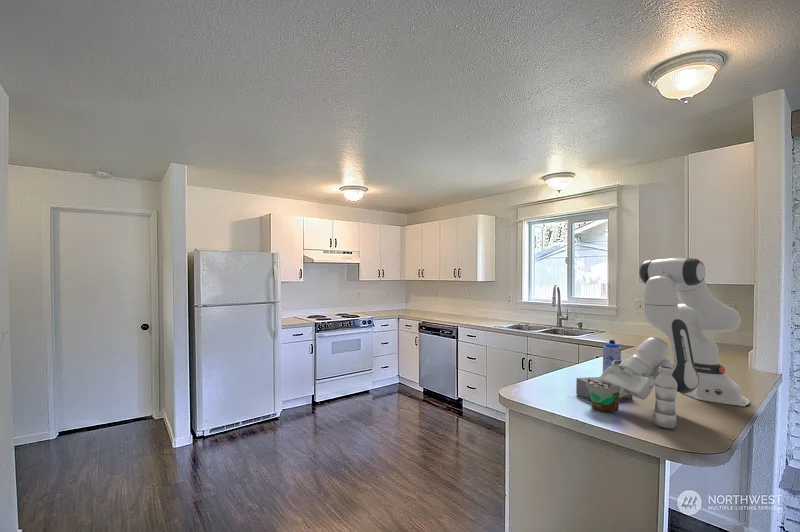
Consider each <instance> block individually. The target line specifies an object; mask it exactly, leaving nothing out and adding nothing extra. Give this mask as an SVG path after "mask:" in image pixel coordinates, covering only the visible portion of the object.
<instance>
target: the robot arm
mask: <svg viewBox="0 0 800 532" xmlns="http://www.w3.org/2000/svg"><path fill="white" fill-rule="evenodd" d="M638 273H639V278H640V280H641V281H642V283H643V284H645V287H644V294H643V314H644V318H645V320H646V321H647V322H648V323H649V324H650V325H652V326H653V327H654V328H655V329H658V330H659V331H661V332H662V333H663V334H665V335H666V337H667V338H668V339H669V341H670V343H671V346H670V344H668V343H667V342H666V341H665V340H662V339H660V338H657V337H650V336H649V337H648V338H646V339H645V340H643V341H642V342H641V343H640V344H639V346H637V347H636V348H635V351H634V352H633V354H632V355H630V356H629V357H628V358H627V359H621V360H615V361H613V362H612V365H613V366H610V367H608V368H607V369H606V370H605V371H604V372H603V371H602V374H601V375H600V376H599V377H600V380H601V381H602V382H603V383H606V384H609V385H611V386H615V387H616V386H618V385H619V387H620V388H621V391H620V392H619V398H621V397H623V396H625V395H626V394H629V395H632V397H635V398H637V399H640V400H643V401H644V400H646V399H647V398H648V397H649V395H650V394H651V393H652V390H653V389H654V380H655V378H656V377H657V376H658V375H659V374H660V372H659V366H667V367H671V368H672V372H673V374H672V376H673V377H674V379H675V380H676V382H677V384H678V387H677V392H676V393H680V394H684V395H686V396H688V397H692V398H694V399H696V400H699V401H704V402H712V403H718V404H725V405H731V406H732V405H733V406H737V405H738V406H737V407H747V406H746V405H748V404H749V405H750V400H749V398H747V397H745V396H744V395H743V392H742V388H741V386H740V385H739V384H738V383H737V382H736V381H734V380H733V379H731V378H730V377H729V376H728V375H726V374H725V372H726V368H725V366H724V365H722V364H720V363H719V346H718V345H717V343H716V342H714V341H713V340H712V339H709V338H708V337H707V336H706V335H705V333H704V331H707V332H709V331H710V332H715V333H716V332H717V333H726V332H727V333H729V332H735V331H736V330H738V329H739V327H740V325H741V323H742V319H741V315H740V313H739V312H738V310H736V308H733V307H730V306H729V305H727V304H725V303H723V302H722V301H720V300H719V299H717V297H715V296H714V294H712V292H711V291H710V289H709V287H708V286H707V283H706V280H705V277H706V267H705V265H704V263H703V262H702V261H701V260H699V259H697V258H693V257H692V258H691V257H687V258H685V257H684V258H683V257H682V258H681V257H669V258H659V259H654V258H653V259H648V260H645V261H644V262H643V263H642V264H641V265H640V267H639V272H638ZM679 302H680V303H679ZM670 349H672V356H673V361H674V362H673V361H671V359H670V356H669V351H670ZM749 405H748V406H749Z"/></svg>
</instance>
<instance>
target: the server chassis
mask: <svg viewBox="0 0 800 532" xmlns="http://www.w3.org/2000/svg"><path fill="white" fill-rule="evenodd" d="M588 378H590V380H592V381H596V382H602V381H601V380H600V376H597V377H596V376H595V377H594V376H593V377H591V376H589V377H576V381H575V382H576V386H575V387H576V388H575V389H576V391H575V392H576V394H577V395H576V394H575V395H576V396H578V395H579V396H578V397H580V396H581V398H582V397H583V399H584V398H585V399H584V400H586V399H587V400H586V401H588V400H589V402H591V399H590V394H589V389H588V388H587V387H586V382H587V379H588ZM630 398H632V399H633V396H632V395H629V394H626V395H625V396H623V397H621V398H619V400H631V399H630Z"/></svg>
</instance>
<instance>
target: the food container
mask: <svg viewBox="0 0 800 532" xmlns="http://www.w3.org/2000/svg"><path fill="white" fill-rule="evenodd" d="M587 378H588V379H587V382H586V387H587V388H588V389H589V394H590V399H591V401H590V404H591V407H592V409H593V410H594V411H597V412H599V411H600V413H605V414H611V413H612V414H613V413H617V412H618V411H619V405H620V399H619V392H620V391H621V388H620V387H619V385H618V386H616V387H615V386H611V385H609V384H606V383H603V382H596V381H592V380H590V378H589V377H587Z"/></svg>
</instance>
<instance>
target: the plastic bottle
mask: <svg viewBox="0 0 800 532" xmlns="http://www.w3.org/2000/svg"><path fill="white" fill-rule="evenodd" d="M659 372H660V374H659V375H658V376H657V377H656V378H655V380H654V386H653V388H654V393H655V403H654V410H653V414H652V421H653V423H654V424H655V426H658V427H660V428H663V429H670V430H672V429H675V428H676V426H677V423H678V417H677V414H676V397H677V393H678V392H677V387H678V384H677V382H676V380H675V379H674V377H673V376H672V374H673V372H672V368H671V367H667V366H659Z"/></svg>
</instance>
